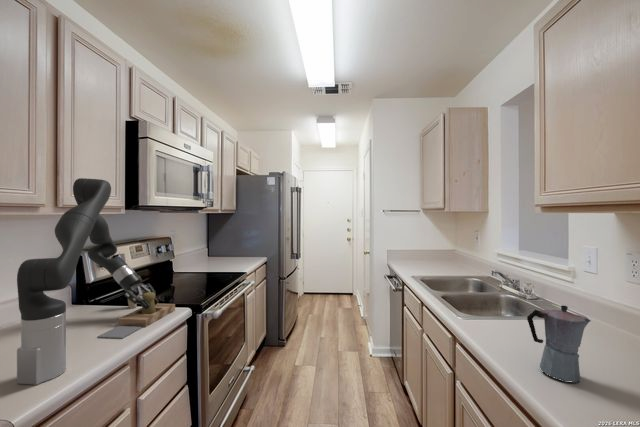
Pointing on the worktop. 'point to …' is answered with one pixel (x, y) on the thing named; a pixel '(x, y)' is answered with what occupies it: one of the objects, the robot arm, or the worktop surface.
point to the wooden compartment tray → (146, 316)
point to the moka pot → (560, 342)
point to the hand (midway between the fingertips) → (152, 305)
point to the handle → (131, 303)
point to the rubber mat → (119, 332)
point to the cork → (150, 300)
